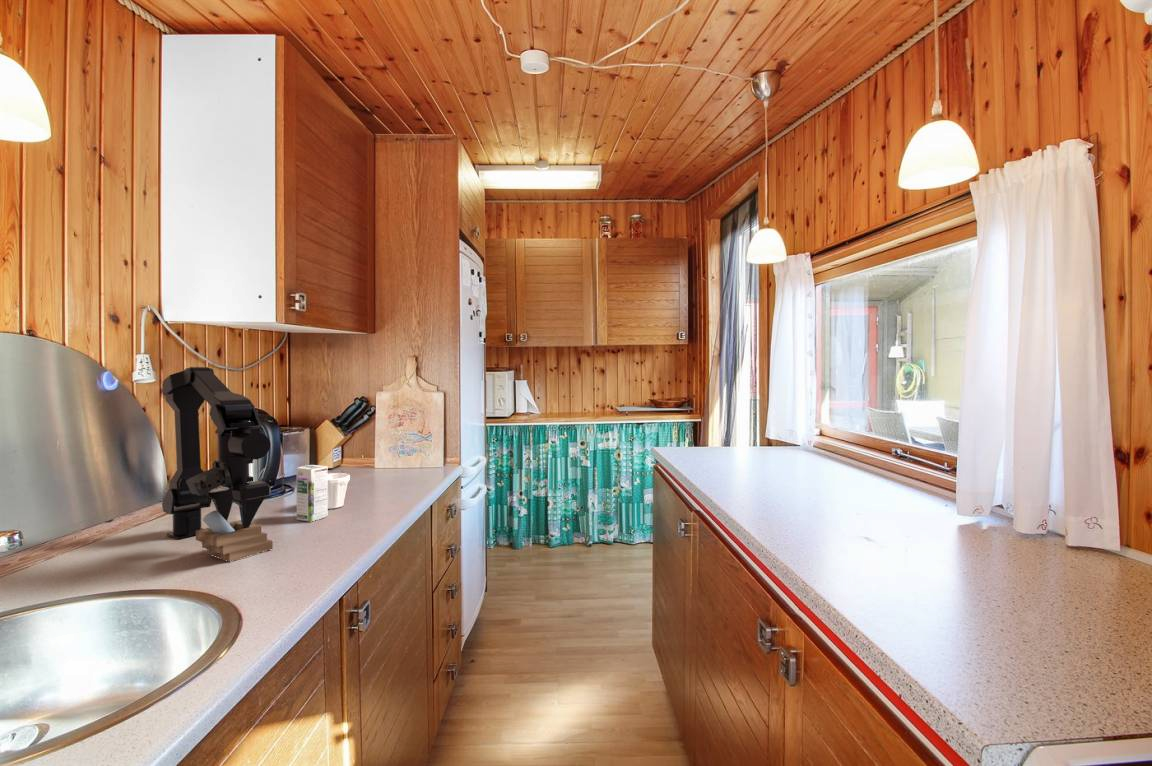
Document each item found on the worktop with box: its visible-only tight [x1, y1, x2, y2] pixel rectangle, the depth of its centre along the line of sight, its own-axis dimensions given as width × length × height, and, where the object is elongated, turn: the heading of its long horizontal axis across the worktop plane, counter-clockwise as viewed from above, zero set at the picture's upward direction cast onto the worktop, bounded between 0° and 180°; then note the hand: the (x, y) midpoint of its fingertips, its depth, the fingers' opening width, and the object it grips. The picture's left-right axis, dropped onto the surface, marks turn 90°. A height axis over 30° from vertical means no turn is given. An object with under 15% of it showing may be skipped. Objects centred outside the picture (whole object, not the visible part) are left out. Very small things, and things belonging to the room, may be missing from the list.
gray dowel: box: [202, 510, 235, 534], centre depth 112 cm, size 3×3×10 cm
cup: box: [328, 472, 351, 510], centre depth 153 cm, size 10×10×9 cm
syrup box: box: [296, 464, 329, 523], centre depth 141 cm, size 6×6×14 cm
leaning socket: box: [195, 519, 274, 562], centre depth 114 cm, size 9×11×6 cm
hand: (234, 524), depth 114 cm, fingers open, 9 cm apart
